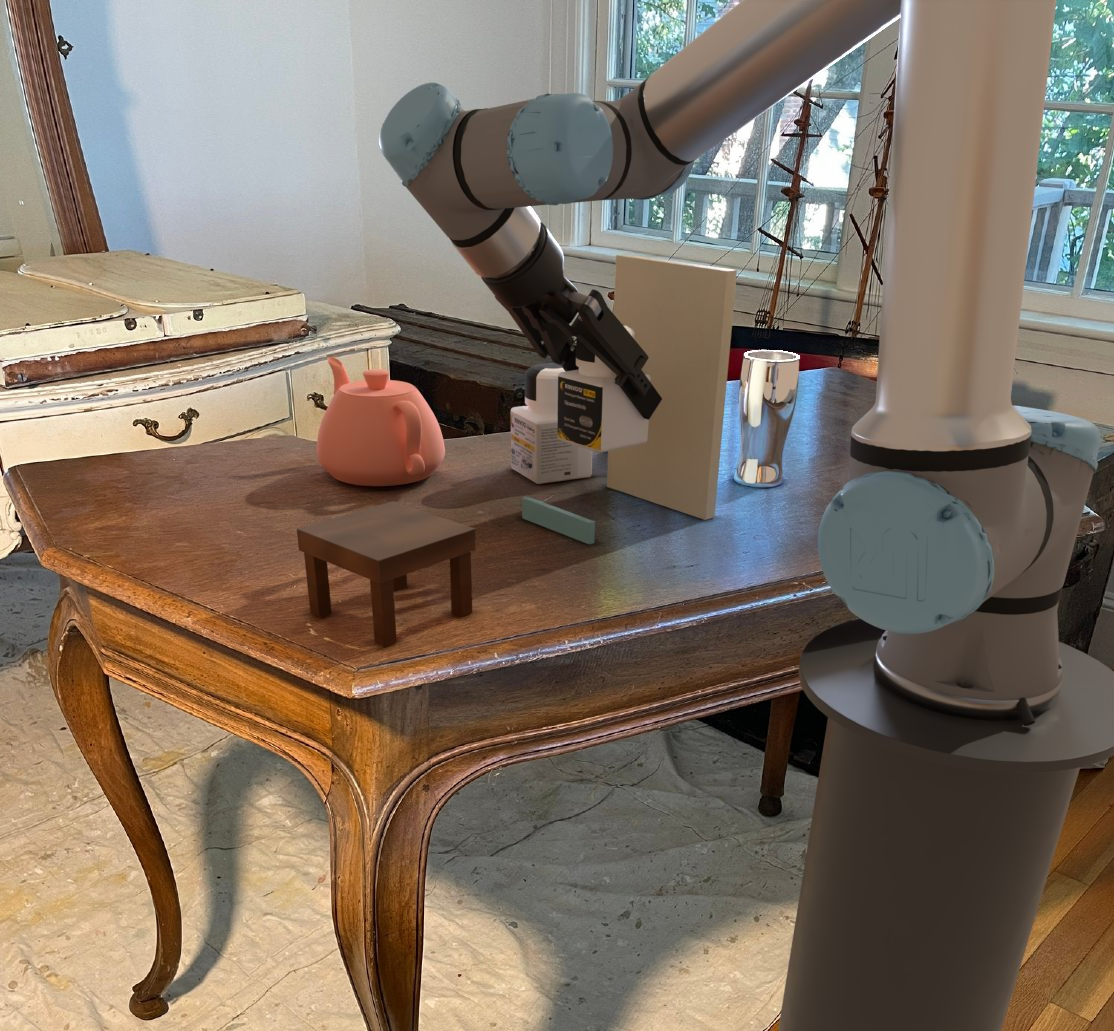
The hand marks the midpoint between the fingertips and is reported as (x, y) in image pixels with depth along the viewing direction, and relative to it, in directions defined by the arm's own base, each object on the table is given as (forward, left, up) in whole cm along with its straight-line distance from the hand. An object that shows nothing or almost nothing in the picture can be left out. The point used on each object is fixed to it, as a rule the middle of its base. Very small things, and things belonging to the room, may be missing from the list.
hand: (626, 401), depth 119 cm
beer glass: (+5, -22, -13) cm, 26 cm away
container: (+17, +1, -13) cm, 21 cm away
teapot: (+25, +21, -13) cm, 35 cm away
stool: (-18, +32, -12) cm, 39 cm away
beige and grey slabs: (0, +1, -12) cm, 13 cm away
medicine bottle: (-1, +3, -4) cm, 5 cm away
